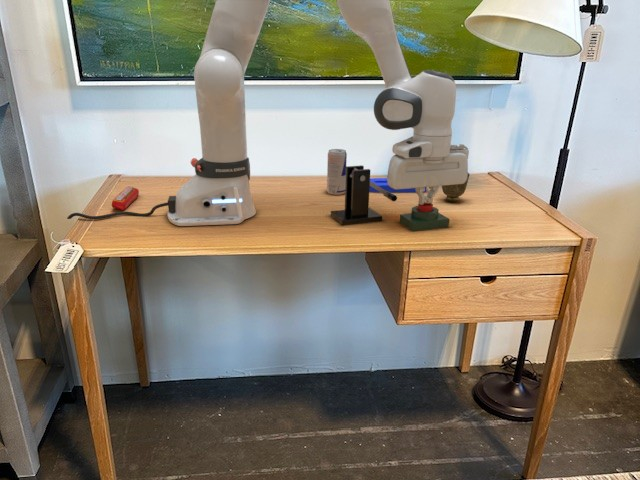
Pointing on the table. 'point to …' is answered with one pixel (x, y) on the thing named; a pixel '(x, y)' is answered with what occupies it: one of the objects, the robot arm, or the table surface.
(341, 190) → the energy drink
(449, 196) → the cup
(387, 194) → the lever
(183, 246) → the table surface
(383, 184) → the bracket
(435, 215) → the button block
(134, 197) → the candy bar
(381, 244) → the table surface
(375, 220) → the bracket
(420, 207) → the button
